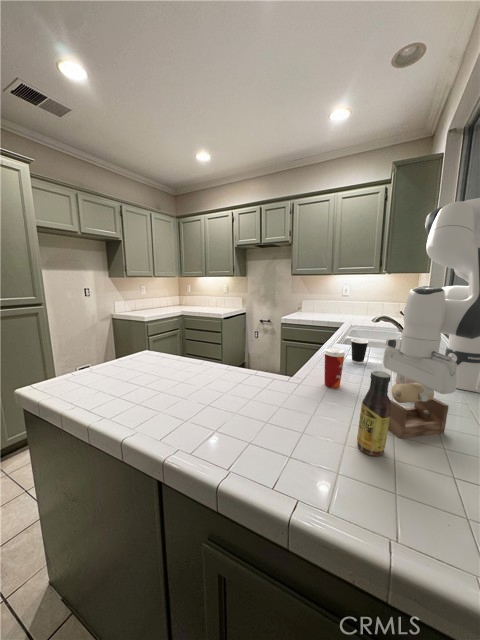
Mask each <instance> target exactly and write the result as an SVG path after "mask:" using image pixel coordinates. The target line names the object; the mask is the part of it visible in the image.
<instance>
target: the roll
mask: <svg viewBox="0 0 480 640" xmlns="http://www.w3.org/2000/svg"><path fill="white" fill-rule="evenodd" d="M422 387H423V385H421V384H419V383H407V384H393V386H392V387H391V395H392V398H393V399H394V400H395V402H396V403H397V404H398V403H399V404H406V403H415V402H418V401H421V400H419V399H418V393H422V392H423V391H424V389H422ZM434 396H435V391H433V392H432V393H431V394H429V395H428V400H427V401H429V400H431V399H433V398H434Z"/></svg>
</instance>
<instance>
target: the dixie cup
mask: <svg viewBox="0 0 480 640" xmlns="http://www.w3.org/2000/svg"><path fill="white" fill-rule="evenodd" d="M350 341H351V360H352V362H351V363H354V364H359V365H362V364H364V361H365V357H366V353H367V348H368V345H369V344H368V343H369V341H368V340H366V339H362V338H352V339H350Z"/></svg>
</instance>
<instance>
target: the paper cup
mask: <svg viewBox="0 0 480 640" xmlns="http://www.w3.org/2000/svg"><path fill="white" fill-rule="evenodd" d="M323 353H324V385H326V386H325V387H327V388H331V389H338V388H340V386H341V380H342V376H343V375H342V373H343V368H344V363H345V362H344V361H345V356H346V353H345V350H343V349H340V348H336V347H335V348H334V347H328V348H325V350H324V352H323Z"/></svg>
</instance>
